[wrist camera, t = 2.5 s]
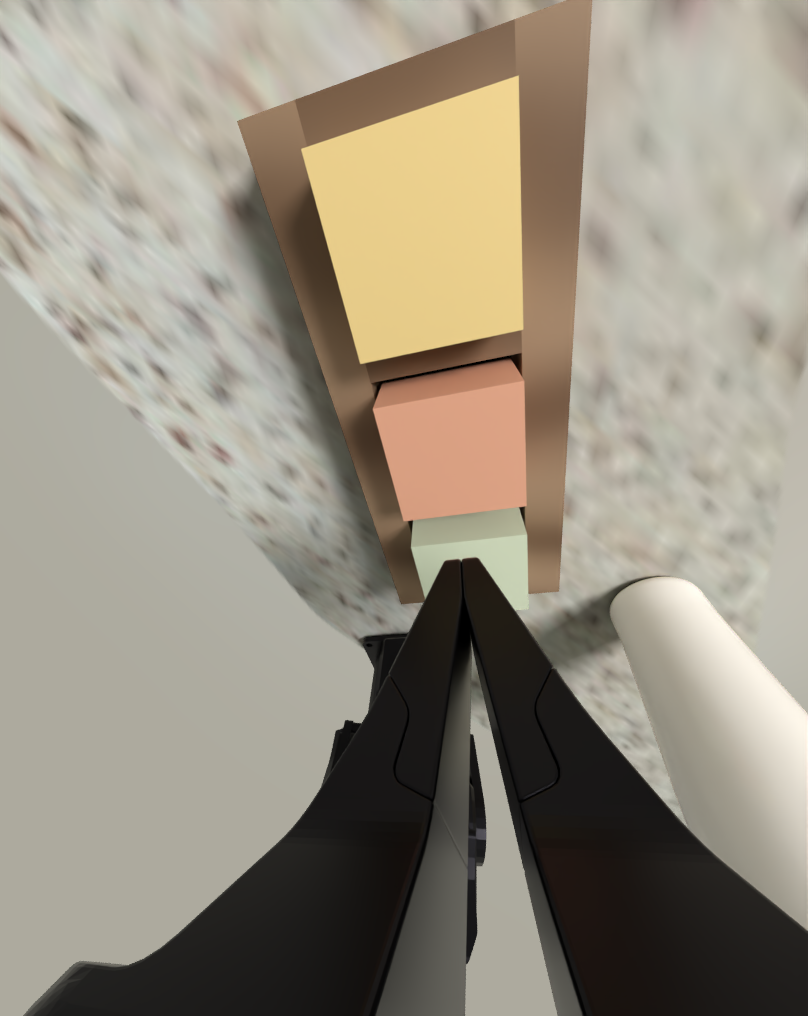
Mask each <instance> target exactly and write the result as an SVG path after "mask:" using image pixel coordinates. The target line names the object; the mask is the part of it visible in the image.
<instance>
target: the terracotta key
mask: <svg viewBox="0 0 808 1016" xmlns="http://www.w3.org/2000/svg"><path fill="white" fill-rule="evenodd" d="M373 412H374V415H375V419H376V423H377V426H378V430H379V433H380V437H381V441H382V444H383V448H384V452H385V455H386V459H387V462H388V466H389V470H390V473H391V477H392V481H393V484H394V488H395V491H396V495H397V499H398V502H399V506H400V510H401V513H402V517H403V520H404V521H411V520H419V519H427V518H435V517H443V516H451V515H459V514H468V513H476V512H484V511H492V510H500V509H508V508H516V507H524V506H527V496H526V442H525V388H524V379H523V378H522V376H521V374H520V373H519V371H518V370H517V368H516V366H515V365H514V363H513V362H512V360H511V358H508V359H503V360H498V361H493V362H488V363H483V364H478V365H473V366H468V367H463V368H458V369H453V370H448V371H442V372H437V373H432V374H427V375H422V376H417V377H412V378H407V379H402V380H397V381H392V382H387V383H382V385H381V388H380V391H379V393H378V396H377V399H376V401H375V404H374V407H373Z"/></svg>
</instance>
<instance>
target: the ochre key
mask: <svg viewBox="0 0 808 1016" xmlns="http://www.w3.org/2000/svg"><path fill="white" fill-rule="evenodd" d="M301 151H302V154H303V158H304V162H305V165H306V169H307V173H308V176H309V180H310V183H311V187H312V191H313V194H314V198H315V202H316V205H317V209H318V212H319V216H320V220H321V223H322V227H323V231H324V234H325V238H326V241H327V245H328V249H329V252H330V256H331V260H332V263H333V267H334V270H335V274H336V278H337V281H338V285H339V289H340V292H341V296H342V299H343V303H344V307H345V310H346V314H347V318H348V321H349V325H350V328H351V332H352V336H353V339H354V343H355V347H356V350H357V354H358V357H359V361H360V364H363V363H368V362H373V361H377V360H382V359H387V358H392V357H396V356H401V355H406V354H411V353H415V352H420V351H425V350H429V349H434V348H439V347H444V346H448V345H453V344H458V343H463V342H467V341H472V340H477V339H482V338H486V337H491V336H496V335H500V334H505V333H510V332H515V331H519V330H523V280H522V226H521V172H520V118H519V75H518V76H515V77H512V78H509V79H506V80H503V81H501V82H498V83H495V84H492V85H489V86H486V87H483V88H480V89H477V90H474V91H471V92H468V93H465V94H462V95H459V96H456V97H453V98H450V99H447V100H444V101H441V102H438V103H435V104H432V105H430V106H427V107H424V108H421V109H418V110H415V111H412V112H409V113H406V114H403V115H400V116H397V117H394V118H391V119H388V120H385V121H382V122H379V123H376V124H373V125H370V126H367V127H364V128H361V129H359V130H356V131H353V132H350V133H347V134H344V135H341V136H338V137H335V138H332V139H329V140H326V141H323V142H320V143H317V144H314V145H311V146H308V147H305V148H302V149H301Z"/></svg>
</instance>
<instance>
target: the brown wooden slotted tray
mask: <svg viewBox="0 0 808 1016" xmlns="http://www.w3.org/2000/svg"><path fill="white" fill-rule="evenodd" d="M591 12H592V0H566V1H563V2H561V3H558V4H555V5H553V6H550V7H547V8H544V9H542V10H539V11H536V12H533V13H531V14H528V15H525V16H523V17H520V18H517V19H514V20H512V21H509V22H506V23H503V24H501V25H498V26H495V27H493V28H490V29H487V30H484V31H482V32H479V33H476V34H473V35H471V36H468V37H465V38H463V39H460V40H457V41H454V42H452V43H449V44H446V45H443V46H441V47H438V48H435V49H433V50H430V51H427V52H424V53H422V54H419V55H416V56H413V57H411V58H408V59H405V60H403V61H400V62H397V63H394V64H392V65H389V66H386V67H383V68H381V69H378V70H375V71H373V72H370V73H367V74H364V75H362V76H359V77H356V78H353V79H351V80H348V81H345V82H343V83H340V84H337V85H334V86H332V87H329V88H326V89H323V90H321V91H318V92H315V93H313V94H310V95H307V96H304V97H302V98H299V99H296V100H293V101H291V102H288V103H285V104H283V105H280V106H277V107H274V108H272V109H269V110H266V111H263V112H261V113H258V114H255V115H253V116H250V117H247V118H244V119H242V120H239V121H237V122H238V125H239V128H240V131H241V134H242V137H243V140H244V143H245V146H246V149H247V152H248V155H249V157H250V160H251V163H252V166H253V169H254V172H255V175H256V178H257V181H258V184H259V187H260V190H261V193H262V196H263V199H264V202H265V205H266V208H267V210H268V213H269V216H270V219H271V222H272V225H273V228H274V231H275V234H276V237H277V240H278V243H279V246H280V249H281V252H282V255H283V258H284V260H285V263H286V266H287V269H288V272H289V275H290V278H291V281H292V284H293V287H294V290H295V293H296V296H297V299H298V302H299V305H300V308H301V310H302V313H303V316H304V319H305V322H306V325H307V328H308V331H309V334H310V337H311V340H312V343H313V346H314V349H315V352H316V355H317V358H318V361H319V363H320V366H321V369H322V372H323V375H324V378H325V381H326V384H327V387H328V390H329V393H330V396H331V399H332V402H333V405H334V408H335V411H336V413H337V416H338V419H339V422H340V425H341V428H342V431H343V434H344V437H345V440H346V443H347V446H348V449H349V452H350V455H351V458H352V461H353V463H354V466H355V469H356V472H357V475H358V478H359V481H360V484H361V487H362V490H363V493H364V496H365V499H366V502H367V505H368V508H369V511H370V514H371V516H372V519H373V522H374V525H375V528H376V531H377V534H378V537H379V540H380V543H381V546H382V549H383V552H384V555H385V558H386V561H387V564H388V566H389V569H390V572H391V575H392V578H393V581H394V584H395V587H396V590H397V593H398V596H399V599H400V602H401V604H408V603H421V602H424V601H425V597H424V593H423V589H422V586H421V582H420V578H419V575H418V571H417V568H416V564H415V560H414V557H413V553H412V549H411V540H412V528H413V520H411V521H404V520H403V517H402V513H401V510H400V506H399V502H398V499H397V495H396V491H395V488H394V484H393V481H392V477H391V473H390V470H389V466H388V462H387V459H386V455H385V452H384V448H383V444H382V441H381V437H380V433H379V430H378V426H377V423H376V419H375V415H374V412H373V407H374V404H375V401H376V399H377V396H378V393H379V391H380V388H381V385H382V383H383V381H384V380H389V379H394V378H399V377H404V376H409V375H414V374H419V373H424V372H429V371H434V370H439V369H444V368H449V367H454V366H459V365H464V364H469V363H474V362H479V361H484V360H489V359H494V358H499V357H504V356H509V355H511V360H512V362H513V363H514V365H515V366H516V368H517V370H518V371H519V373H520V374H521V376H522V378H523V379H524V388H525V442H526V496H527V506H524V507H519V509H520V513H521V516H522V519H523V522H524V526H525V529H526V532H527V550H528V594H533V593H545V592H558V591H559V580H560V562H561V544H562V527H563V509H564V491H565V473H566V456H567V438H568V420H569V402H570V385H571V367H572V349H573V331H574V314H575V296H576V278H577V260H578V243H579V225H580V207H581V190H582V172H583V154H584V136H585V119H586V101H587V83H588V65H589V48H590V30H591ZM518 75H519V118H520V172H521V226H522V280H523V330H519V331H515V332H510V333H505V334H500V335H496V336H491V337H486V338H482V339H477V340H472V341H467V342H463V343H458V344H453V345H448V346H444V347H439V348H434V349H429V350H425V351H420V352H415V353H411V354H406V355H401V356H396V357H392V358H387V359H382V360H377V361H373V362H368V363H363V364H360V361H359V357H358V354H357V350H356V347H355V343H354V339H353V336H352V332H351V328H350V325H349V321H348V318H347V314H346V310H345V307H344V303H343V299H342V296H341V292H340V289H339V285H338V281H337V278H336V274H335V270H334V267H333V263H332V260H331V256H330V252H329V249H328V245H327V241H326V238H325V234H324V231H323V227H322V223H321V220H320V216H319V212H318V209H317V205H316V202H315V198H314V194H313V191H312V187H311V183H310V180H309V176H308V173H307V169H306V165H305V162H304V158H303V154H302V151H301V149H302V148H305V147H308V146H311V145H314V144H317V143H320V142H323V141H326V140H329V139H332V138H335V137H338V136H341V135H344V134H347V133H350V132H353V131H356V130H359V129H361V128H364V127H367V126H370V125H373V124H376V123H379V122H382V121H385V120H388V119H391V118H394V117H397V116H400V115H403V114H406V113H409V112H412V111H415V110H418V109H421V108H424V107H427V106H430V105H432V104H435V103H438V102H441V101H444V100H447V99H450V98H453V97H456V96H459V95H462V94H465V93H468V92H471V91H474V90H477V89H480V88H483V87H486V86H489V85H492V84H495V83H498V82H501V81H503V80H506V79H509V78H512V77H515V76H518Z"/></svg>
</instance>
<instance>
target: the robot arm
mask: <svg viewBox="0 0 808 1016" xmlns="http://www.w3.org/2000/svg"><path fill="white" fill-rule="evenodd" d="M471 641H472V646H471ZM363 646H364V648H365V650H366V652H367V654H368V657H369V658H370V660H371V663H372V665H373V667H374V676H373V683H372V690H371V697H370V703H369V711H368V714H367V715H366V717H365V719H364V720H363V722H362V723H353V721H349V720H346V721H345V724H344V728H343V729H340V730H337V731H336V733H335V738H334V743H333V748H332V752H331V757H330V760H329V764H328V767H327V770H326V773H325V777H324V780H323V783H322V786H321V788H320V790H319V792H318V793H317V795H316V796H315V798H314V799H313V801H312V802H311V804H310V805H309V807H308V808H307V810H306V811H305V813H304V814H303V815H302V816H301V818H300V819H299V820H298V822H297V823H296V824H295V825H294V826H293V828H292V829H291V830H290V831H289V832H288V833H287V834H286V835H285V836H284V837H283V838H282V839H281V840H280V841H279V842H278V843H277V844H276V845H275V846H274V847H273V848H272V849H270V850H269V851H268V852H267V853H266V854H265V855H264V856H263V857H262V858H260V859H259V860H258V861H257V862H256V863H255V864H254V865H253V866H252V867H251V868H249V869H248V870H247V871H246V872H245V873H244V874H243V875H242V876H241V877H240V878H238V879H237V881H235V882H234V883H233V884H232V885H231V886H230V887H229V888H228V889H226V890H225V891H224V892H223V893H222V894H221V895H220V896H219V897H218V898H217V899H215V900H214V901H213V902H212V903H211V904H210V905H209V906H208V907H207V908H206V909H205V910H203V911H202V912H201V913H200V914H199V915H198V916H197V917H196V918H195V919H194V920H192V921H191V922H190V923H189V924H188V925H187V926H186V927H185V928H184V929H182V930H181V931H180V932H179V933H178V934H177V935H176V936H175V937H173V938H172V939H171V940H170V941H168V942H167V943H166V944H165V945H164V946H162V947H161V948H160V949H158V950H157V951H155V952H153V953H152V954H150V955H149V956H147V957H146V958H144V959H142V960H140V961H137V962H135V963H132V964H130V965H121V964H110V963H100V962H87V961H79V962H77V963H75V964H74V965H72V966H71V967H70V968H69V969H68V970H67V971H66V972H65V973H64V974H63V975H62V976H61V977H60V978H59V979H58V980H57V981H56V982H55V983H54V984H53V985H52V986H51V987H50V988H49V989H48V990H47V991H46V992H45V993H44V994H43V995H42V996H41V997H40V998H39V999H38V1000H37V1001H36V1002H35V1003H34V1004H33V1005H32V1006H31V1007H30V1008H29V1010H28V1011H27V1012H26V1013H25V1014H24V1015H23V1016H465V986H466V964H467V963H468V962H469V959H470V956H471V952H472V950H473V946H474V943H475V940H476V936H477V913H476V866H482V865H483V862H484V858H485V851H486V816H485V805H484V798H483V792H482V786H481V779H480V773H479V767H478V761H477V755H476V749H475V742H474V736H473V735H472V734H470V717H471V664H472V647H473V652H474V657H475V661H476V665H477V670H478V674H479V678H480V682H481V687H482V691H483V695H484V700H485V704H486V708H487V713H488V717H489V721H490V726H491V730H492V734H493V739H494V743H495V747H496V751H497V756H498V760H499V764H500V769H501V773H502V777H503V782H504V786H505V790H506V795H507V799H508V803H509V807H510V812H511V816H512V821H513V825H514V829H515V833H516V837H517V842H518V846H519V851H520V854H521V859H522V864H523V868H524V870H525V877H526V881H527V885H528V889H529V894H530V898H531V903H532V907H533V911H534V916H535V920H536V924H537V928H538V933H539V937H540V941H541V945H542V950H543V954H544V959H545V963H546V967H547V972H548V976H549V980H550V984H551V989H552V993H553V997H554V1002H555V1006H556V1010H557V1014H558V1016H808V930H806V929H805V928H804V927H803V926H801V925H800V924H799V923H798V922H797V921H795V920H794V919H793V918H792V917H790V916H789V915H788V914H787V913H786V912H784V911H783V910H782V909H781V908H779V907H778V906H777V905H776V904H774V903H773V902H772V901H771V900H770V899H768V898H767V897H766V896H765V895H763V894H762V893H761V892H760V891H759V890H757V889H756V888H755V887H754V886H752V885H751V884H750V883H749V882H748V881H746V880H745V879H744V878H743V877H741V876H740V875H739V874H738V873H737V872H735V871H734V870H733V869H732V868H730V867H729V866H728V865H727V864H726V863H724V862H723V861H722V860H721V859H720V858H718V857H717V856H716V855H715V854H714V853H713V852H712V851H711V850H709V849H708V848H707V847H706V846H705V845H704V844H703V843H702V842H701V841H700V840H699V839H698V838H697V837H696V836H695V835H694V834H693V833H692V832H691V831H690V830H689V829H688V828H687V827H686V826H685V825H684V824H683V823H682V822H681V820H680V819H679V818H678V817H677V816H676V815H675V814H674V813H673V812H672V811H671V809H670V808H669V807H668V806H667V805H666V804H665V803H664V801H663V800H662V799H661V798H660V797H659V796H658V795H657V793H656V792H655V791H654V790H653V789H652V788H651V786H650V785H649V784H648V783H647V782H646V781H645V780H644V778H643V777H642V776H641V775H640V774H639V773H638V771H637V770H636V769H635V768H634V767H633V766H632V764H631V763H630V762H629V761H628V760H627V759H626V758H625V756H624V755H623V754H622V753H621V752H620V751H619V749H618V748H617V747H616V746H615V745H614V744H613V743H612V741H611V740H610V739H609V738H608V737H607V736H606V734H605V733H604V732H603V731H602V729H601V728H600V727H599V726H598V725H597V723H596V722H595V721H594V720H593V719H592V717H591V716H590V715H589V714H588V712H587V711H586V710H585V709H584V707H583V706H582V705H581V703H580V702H579V701H578V699H577V698H576V697H575V695H574V694H573V693H572V691H571V690H570V688H569V687H568V686H567V684H566V683H565V682H564V680H563V679H562V677H561V676H560V674H559V673H558V671H557V670H556V669H555V668H553V665H552V663H551V662H550V660H549V659H548V657H547V656H546V654H545V653H544V652H543V650H542V649H541V647H540V646H539V644H538V643H537V641H536V640H535V639H534V637H533V636H532V634H531V633H530V631H529V630H528V628H527V627H526V626H525V624H524V623H523V621H522V620H521V618H520V617H519V616H518V614H517V613H516V611H515V610H514V608H513V607H512V605H511V604H510V603H509V601H508V600H507V598H506V597H505V595H504V594H503V592H502V591H501V590H500V588H499V587H498V585H497V584H496V582H495V581H494V579H493V578H492V577H491V575H490V574H489V572H488V571H487V569H486V568H485V566H484V565H483V564H482V562H481V561H480V559H479V558H477V557H472V558H463V559H462V562H461V560H460V559H452V560H446V561H444V562H443V564H442V566H441V568H440V570H439V572H438V574H437V576H436V578H435V580H434V582H433V584H432V586H431V589H430V591H429V593H428V595H427V597H426V599H425V601H424V603H423V605H422V607H421V609H420V611H419V613H418V615H417V617H416V619H415V621H414V623H413V625H412V627H411V629H410V631H409V633H408V634H407V635H391V636H375V637H366V638H364V641H363Z"/></svg>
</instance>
